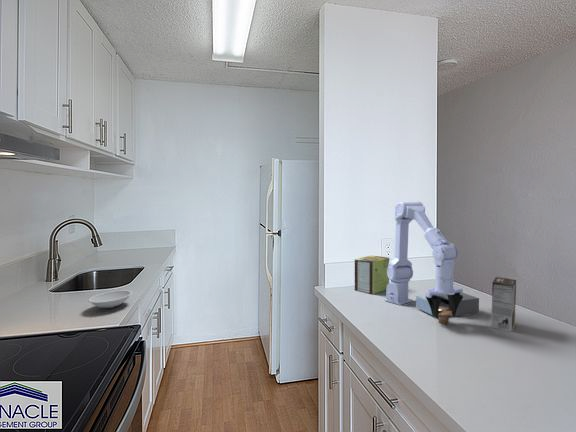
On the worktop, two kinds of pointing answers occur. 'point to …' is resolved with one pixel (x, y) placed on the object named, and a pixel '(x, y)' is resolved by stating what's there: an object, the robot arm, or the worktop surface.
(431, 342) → the worktop surface
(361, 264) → the protein box
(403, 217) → the robot arm
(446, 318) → the post
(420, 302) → the tray
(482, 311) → the worktop surface
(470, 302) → the box
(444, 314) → the puck
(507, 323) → the coffee box
